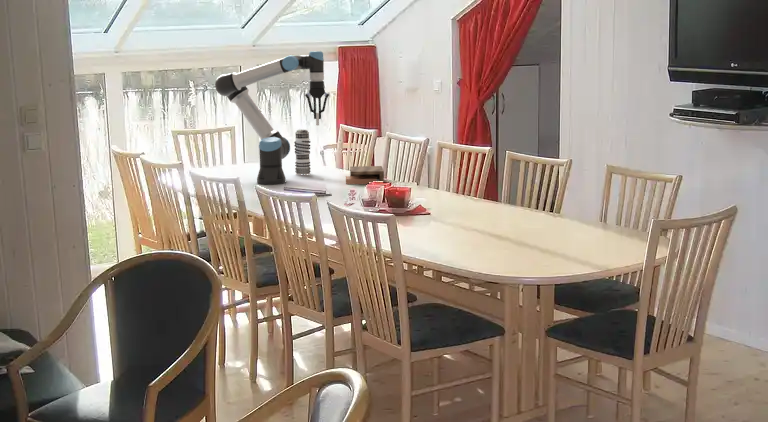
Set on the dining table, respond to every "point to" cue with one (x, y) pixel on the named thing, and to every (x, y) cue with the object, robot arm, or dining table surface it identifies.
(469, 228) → the dining table surface
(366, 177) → the terracotta tile
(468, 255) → the dining table surface
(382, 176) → the walnut shelf
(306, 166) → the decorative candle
